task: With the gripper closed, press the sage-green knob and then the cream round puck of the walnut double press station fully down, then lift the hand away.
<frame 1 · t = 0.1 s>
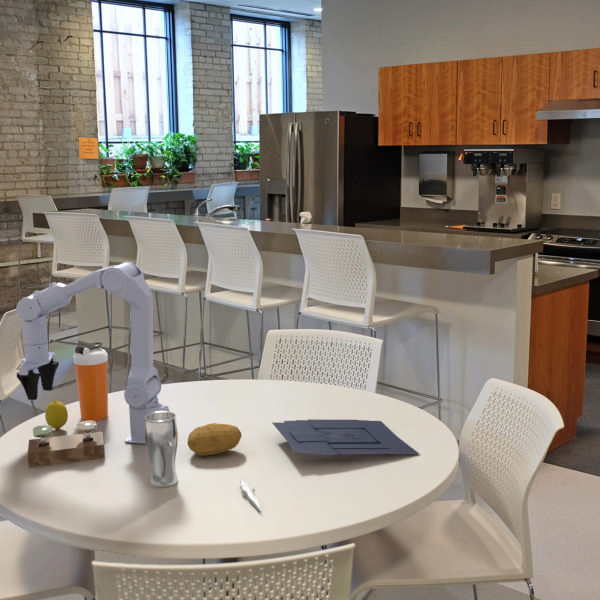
hand: (40, 394, 206), 10 cm above the table, fingers open, 7 cm apart
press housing: (67, 456, 192), on the table
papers: (342, 446, 196), on the table
shaker bottle: (94, 417, 219), on the table
beer glass: (163, 482, 177), on the table
cream round puck: (87, 432, 192), point 5 cm above the table, slide at 0.0 cm
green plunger: (43, 437, 189), point 5 cm above the table, slide at 0.0 cm
lemon: (57, 430, 209), on the table
potato: (215, 453, 193), on the table
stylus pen: (251, 501, 168), on the table
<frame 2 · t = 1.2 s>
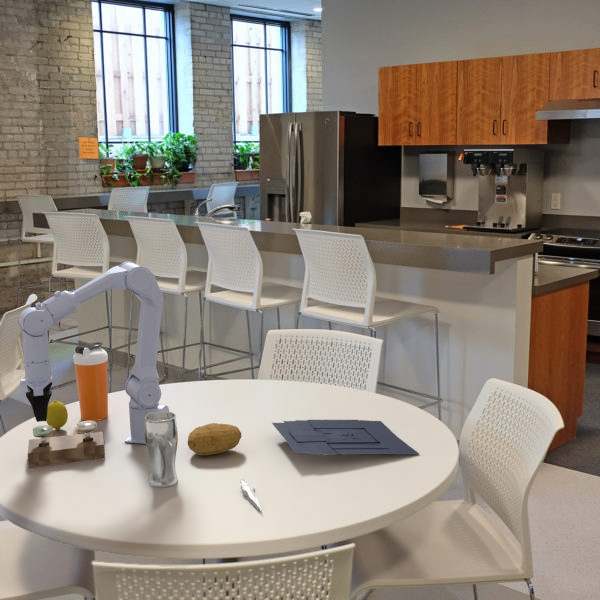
hand: (41, 416, 188), 10 cm above the table, fingers open, 6 cm apart
nothing on the table moved.
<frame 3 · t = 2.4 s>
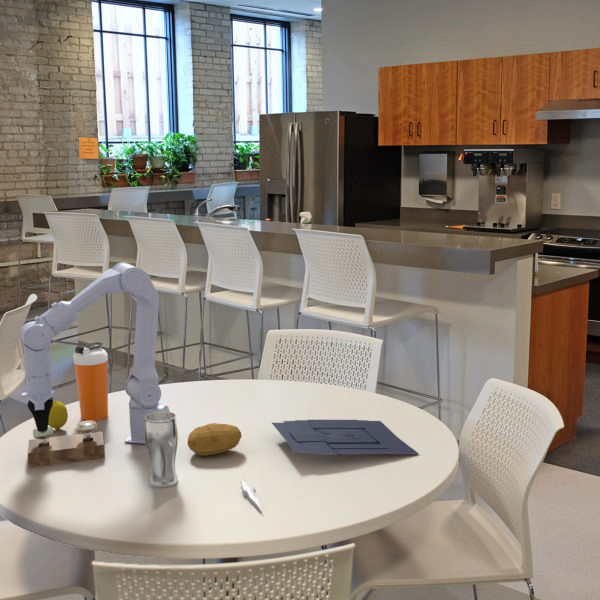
hand: (42, 430, 189), 7 cm above the table, fingers closed, pressing on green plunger
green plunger: (43, 439, 189), point 5 cm above the table, slide at 0.4 cm, touching gripper
everything else where it was.
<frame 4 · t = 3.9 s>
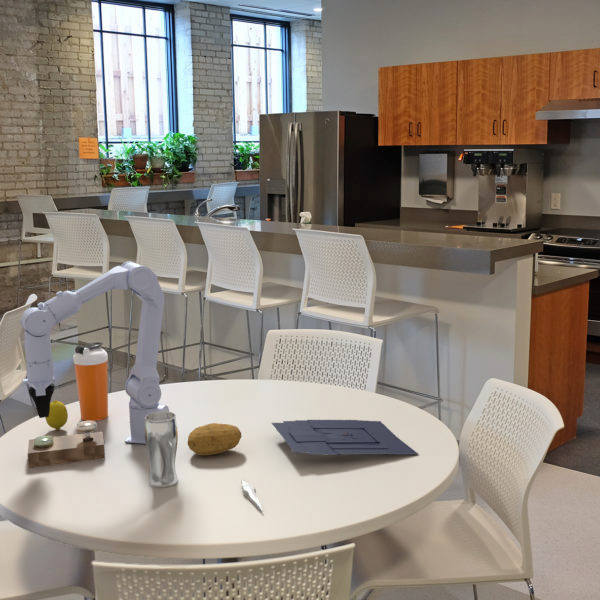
hand: (44, 416, 189), 10 cm above the table, fingers closed
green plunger: (44, 448, 190), point 3 cm above the table, slide at 2.6 cm, touching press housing
everything else where it was.
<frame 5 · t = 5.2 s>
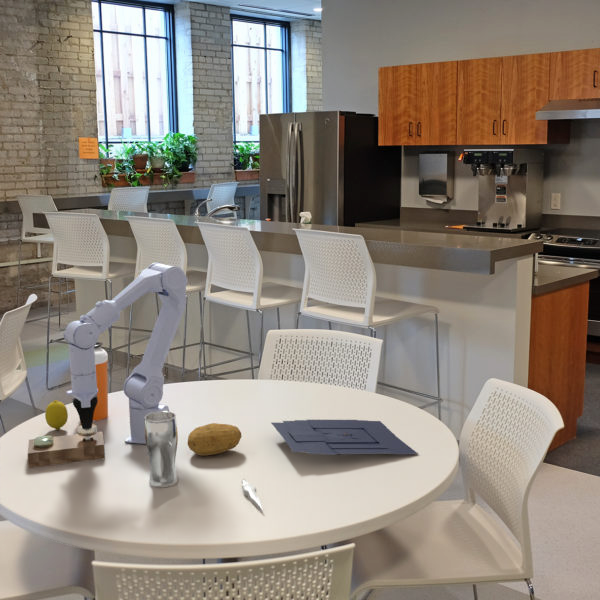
hand: (87, 427, 192), 7 cm above the table, fingers closed, pressing on cream round puck
cream round puck: (87, 436, 192), point 4 cm above the table, slide at 0.9 cm, touching gripper
everything else where it was.
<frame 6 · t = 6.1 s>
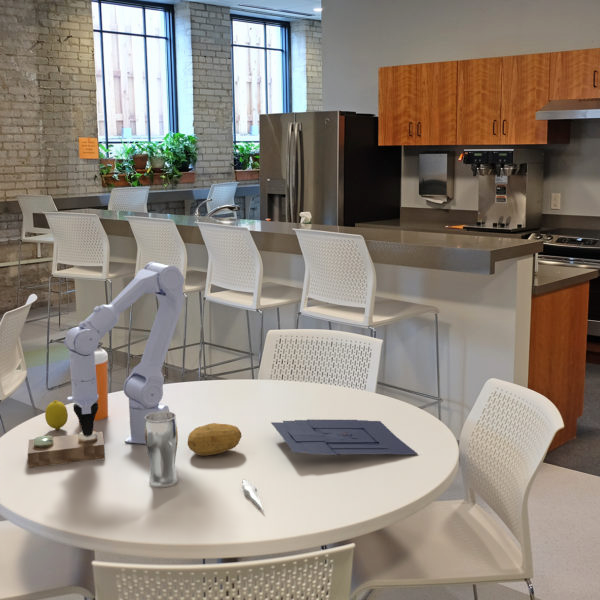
hand: (87, 433, 192), 5 cm above the table, fingers closed
cream round puck: (88, 443, 193), point 3 cm above the table, slide at 2.6 cm, touching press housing
everything else where it was.
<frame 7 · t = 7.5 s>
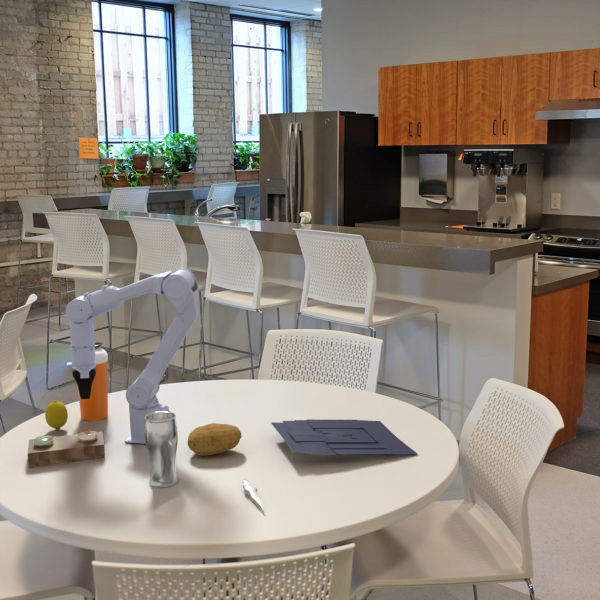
hand: (85, 398, 201), 10 cm above the table, fingers closed
nothing on the table moved.
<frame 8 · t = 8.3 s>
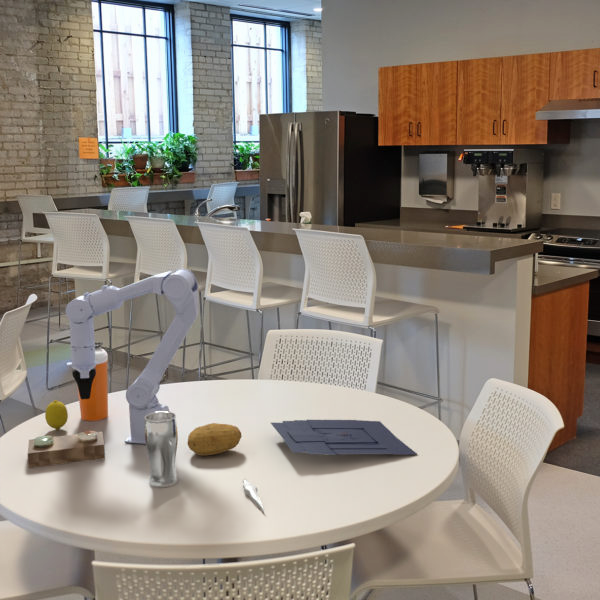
hand: (85, 398, 201), 10 cm above the table, fingers closed
nothing on the table moved.
at the end: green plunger slide at 2.6 cm; cream round puck slide at 2.6 cm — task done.
